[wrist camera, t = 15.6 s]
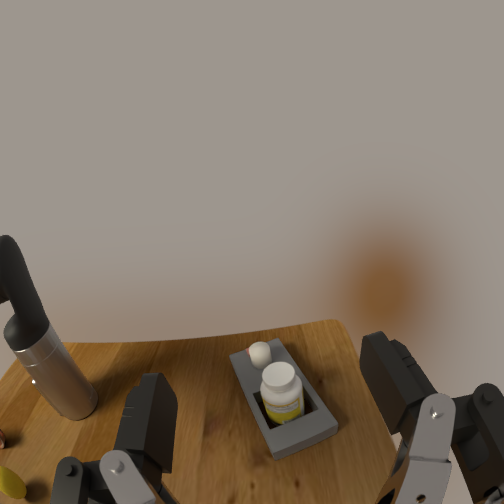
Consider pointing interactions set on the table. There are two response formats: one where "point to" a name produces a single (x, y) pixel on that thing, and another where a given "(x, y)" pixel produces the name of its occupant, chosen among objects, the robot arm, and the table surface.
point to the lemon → (11, 484)
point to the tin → (2, 439)
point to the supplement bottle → (282, 393)
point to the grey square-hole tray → (250, 379)
